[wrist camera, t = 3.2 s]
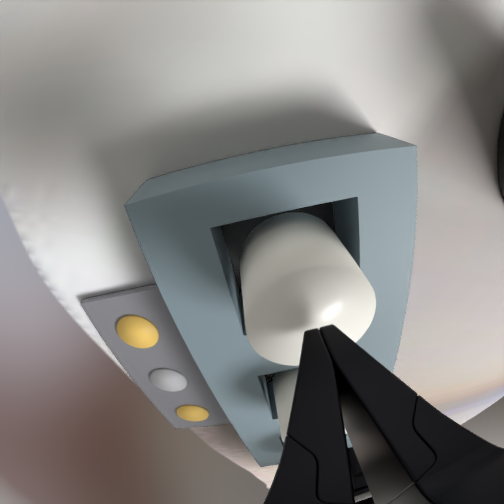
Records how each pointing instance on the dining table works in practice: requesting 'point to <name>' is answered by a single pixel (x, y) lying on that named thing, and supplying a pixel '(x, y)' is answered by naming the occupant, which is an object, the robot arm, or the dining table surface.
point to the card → (155, 355)
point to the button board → (265, 203)
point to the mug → (501, 157)
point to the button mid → (284, 396)
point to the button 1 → (300, 286)
